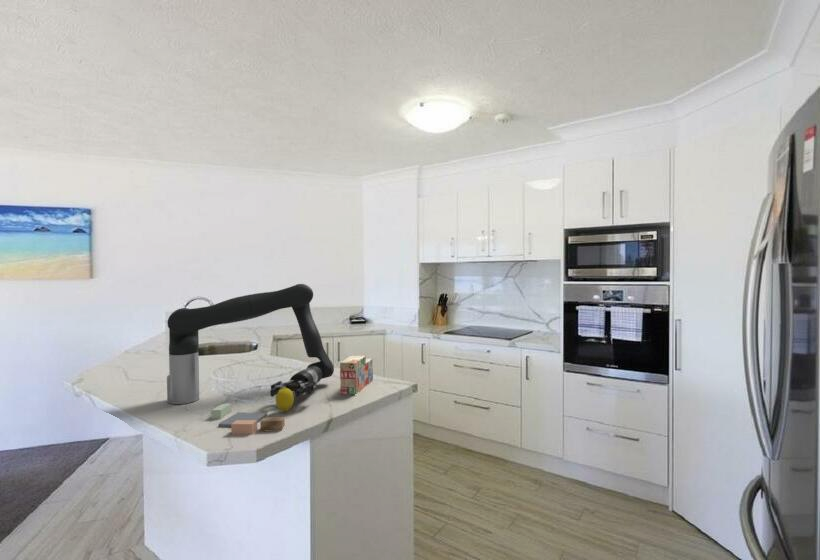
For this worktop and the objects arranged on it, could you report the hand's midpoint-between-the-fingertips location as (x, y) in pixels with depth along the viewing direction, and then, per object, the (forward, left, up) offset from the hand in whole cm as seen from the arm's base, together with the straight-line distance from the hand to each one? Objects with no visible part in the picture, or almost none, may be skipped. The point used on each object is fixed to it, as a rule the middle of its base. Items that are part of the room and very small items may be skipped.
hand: (284, 393), depth 127 cm
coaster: (-9, -9, -6) cm, 14 cm away
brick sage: (-19, -5, -6) cm, 21 cm away
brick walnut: (+3, -14, -6) cm, 15 cm away
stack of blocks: (+16, +31, -6) cm, 35 cm away
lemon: (0, 0, -6) cm, 6 cm away
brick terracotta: (-4, -17, -6) cm, 18 cm away
